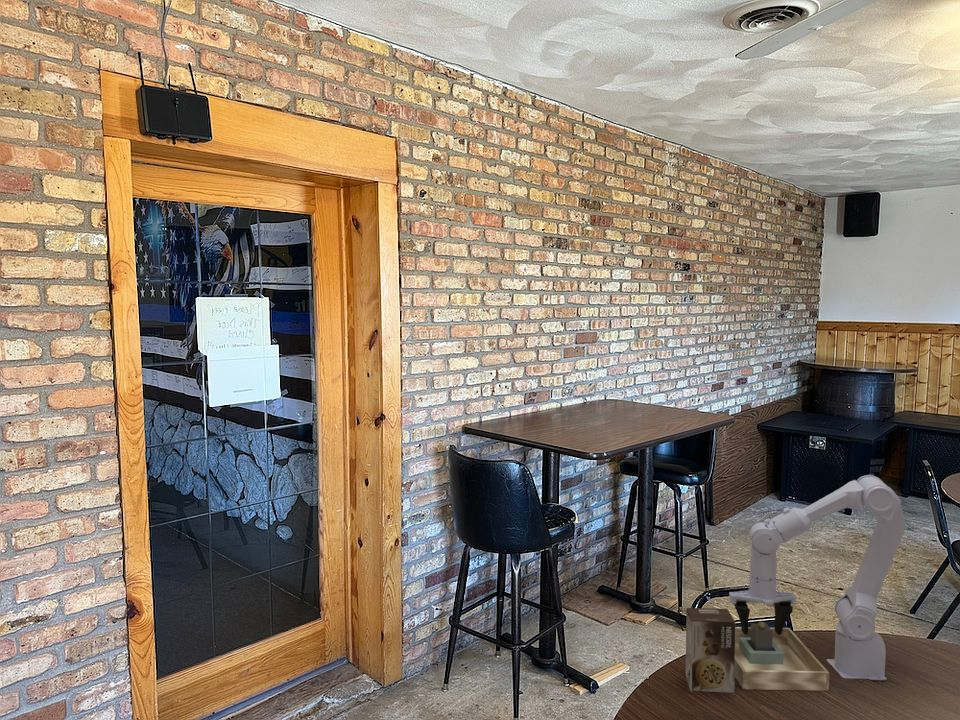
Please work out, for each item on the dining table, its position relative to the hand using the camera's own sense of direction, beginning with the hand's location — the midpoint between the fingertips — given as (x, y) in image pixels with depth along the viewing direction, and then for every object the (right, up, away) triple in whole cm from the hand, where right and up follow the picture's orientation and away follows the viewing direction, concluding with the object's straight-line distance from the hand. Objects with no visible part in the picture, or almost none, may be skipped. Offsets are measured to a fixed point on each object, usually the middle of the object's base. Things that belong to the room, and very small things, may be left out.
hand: (761, 632), depth 155 cm
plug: (0, -6, 0) cm, 6 cm away
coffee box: (-16, -7, -11) cm, 21 cm away
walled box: (0, -6, -4) cm, 7 cm away
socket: (0, -6, 0) cm, 6 cm away
